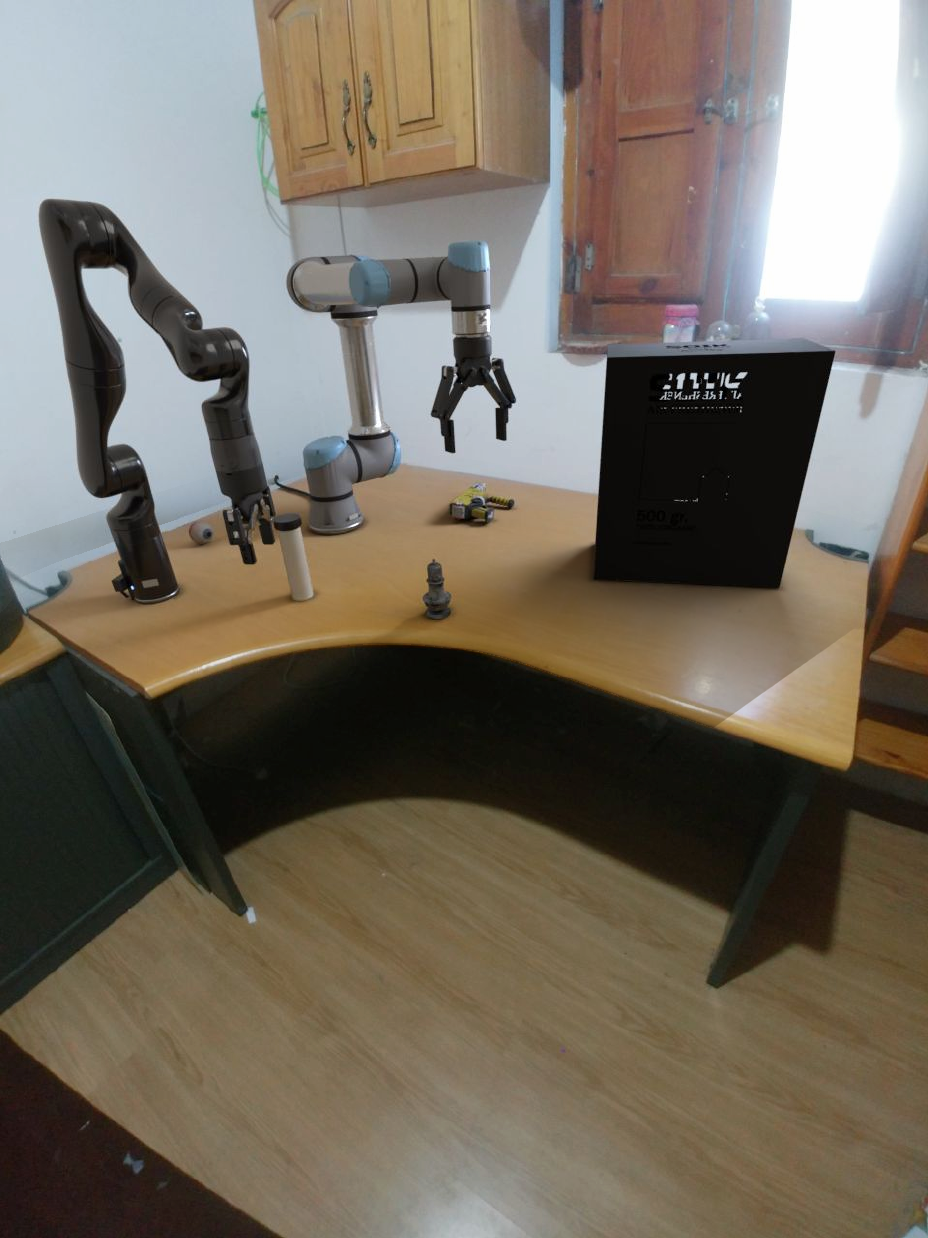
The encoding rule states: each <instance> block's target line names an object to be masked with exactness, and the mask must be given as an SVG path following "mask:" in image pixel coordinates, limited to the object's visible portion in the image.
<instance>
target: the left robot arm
mask: <svg viewBox="0 0 928 1238" xmlns="http://www.w3.org/2000/svg"><path fill="white" fill-rule="evenodd" d="M38 227H39V232H40V233H39V234H40V238H41V243H42V248H43V252H44V256H45V261H46V264H47V268H48V272H49V276H50V281H51V284H52V288H53V292H54V298H55V301H56V306H57V307H56V308H57V312H58V318H59V324H60V330H61V331H60V332H61V337H62V338H61V339H62V346H63V354H64V361H65V367H66V373H67V379H68V380H67V381H68V384H69V390H70V395H71V401H72V408H73V417H74V425H75V426H74V427H75V444H76V445H75V447H76V448H75V449H76V450H75V451H76V463H77V470H78V473H79V474H78V475H79V478H80V480H81V482H82V485H83V486H84V489H86V491H87V492H88V493H89V494H90V495H91V496H93V497H94V498H96V499H107V498H111V497H114V496H118V495H120V497H119V500H118V501H117V502H116V504H115V505H114V506H113V507H112V508H111V509H109V510H108V511H107V513H106V516H105V520H106V523H107V526H108V528H109V531H110V534H111V537H112V539H113V542H114V544H115V547H116V550H117V553H118V556H119V558H120V559H118V561H117V565H118V568H119V570H120V573H119V574H118V575H117V576H115V577H114V578H113V579H111V584H112V586H113V590H114V592H116V593H120V594H121V595H122V596H123V597H124V598H125V599H127V600H128V598H130V600H131V601H135V602H136V603H139V604H144V605H145V604H147V605H149V604H157V603H161V602H163V601H167V600H170V599H172V598H173V597H175V596H176V595H178V593H180V590H181V589H180V585H179V583H178V580H177V577H176V574H175V571H174V568H173V565H172V561H171V558H170V556H169V553H168V549H167V547H166V544H165V540H164V537H163V535H162V531H161V528H160V525H159V523H158V519H157V516H156V512H155V510H156V509H155V508H156V505H155V500H154V497H153V494H152V493H153V492H152V490H151V486H150V481H149V477H148V473H147V471H146V467H145V464H144V462H143V460H142V458H141V456H140V454H139V453H138V452H137V451H136V450H135V448H133V446H131V445H129V444H127V443H117V444H112V445H109V446H108V444H109V443H108V442H109V441H108V440H109V434H110V430H111V428H112V425H113V423H114V420H115V419H116V417H117V414H118V412H119V410H120V409H121V406H122V403H123V402H124V399H125V396H126V394H127V386H128V384H127V371H126V362H125V356H124V351H123V348H122V346H121V344H120V343H119V342H118V340H117V338H116V337H115V335H114V334H113V333H112V331H110V329H109V328H108V326H107V325H106V324H105V323H104V321H103V320H102V318H100V316H99V315H98V313H97V312H96V310H95V309H94V307H93V306H92V304H91V302H90V300H89V297H88V294H87V291H86V288H85V284H84V278H83V270H108V269H114V270H116V271H118V272H120V273H121V274H122V275H124V276H125V277H126V278H127V295H128V298H129V301H130V304H131V306H132V308H133V309H134V311H135V312H136V314H137V315H138V316H139V317H140V319H141V320H142V321H143V322H144V323H145V324H146V325H147V326H148V327H150V328H151V330H153V332H155V333H156V334H157V335H158V336H159V338H161V340H162V342H163V343H164V345H165V347H166V348H167V350H168V352H169V354H170V355H171V357H172V359H173V361H174V364H175V365H176V368H177V369H178V370H179V372H180V373H181V375H183V376H184V377H186V378H188V379H189V380H191V381H194V382H197V383H207V382H212V381H218V380H219V385H218V390H217V391H216V392H215V393H214V394H213V395H211V396H209V397H207V398H206V399H204V400H203V401H202V403H201V404H200V405H201V406H200V408H201V414H202V418H203V421H204V426H205V429H206V433H207V437H208V441H209V442H208V443H209V450H210V455H211V459H212V463H213V467H214V470H215V474H216V478H217V482H218V486H219V489H220V492H221V494H222V496H223V495H224V496H225V497H228V498H229V499H230V501H231V508H229V509H223V510H222V517H223V518H222V519H223V521H224V526H225V530H226V534H227V538H228V539H227V540H228V543H229V545H230V546H238V548H239V551H240V556H241V560H242V563H243V565H256V564H257V562H258V560H257V555H256V551H255V546H254V543H253V532H255V531H256V525H257V524H258V530H259V534H260V539H261V542H262V544H263V545H264V546H265V545H266V546H270V545H271V546H272V545H273V546H274V544H275V543H276V538H275V534H274V529H273V525H272V524H274V523H273V519H274V518H275V517H276V516H277V513H276V508H275V505H274V501H273V496H272V493H271V489H270V485H269V484H268V482H267V477H266V472H265V467H264V463H263V458H262V455H261V449H260V446H259V443H258V440H257V437H256V435H255V430H254V426H253V421H252V416H251V412H250V409H249V408H250V407H249V400H250V399H249V397H250V367H251V366H250V365H251V364H250V363H251V361H250V354H249V350H248V347H247V345H246V343H245V341H244V338H243V337H242V336H241V334H240V333H238V332H237V331H236V330H235V329H234V328H231V327H227V326H220V327H212V328H204V322H203V321H204V320H203V317H202V315H201V313H200V312H199V310H198V309H197V307H195V305H194V304H193V303H192V302H191V301H190V300H189V299H188V298H186V297H185V295H184V294H182V293H181V292H180V291H179V290H178V289H177V288H176V287H175V286H173V285H172V284H171V283H170V282H169V281H168V279H166V278H165V276H164V275H163V274H162V273H161V272H160V271H159V270H158V269H157V267H156V266H155V264H154V263H153V262H152V260H151V259H150V258H149V256H148V255H147V253H146V252H145V250H144V249H143V247H142V246H141V245H140V243H138V241H137V240H136V239H135V237H134V236H133V234H132V233H131V232H130V230H129V229H128V228H127V226H126V225H125V224H124V222H123V220H121V219H120V217H118V215H117V214H116V213H115V212H114V211H113V210H111V208H109V207H108V206H106V205H104V204H102V203H99V202H95V201H87V200H75V199H65V198H46V199H44V200H42V202H41V203H40V204H39V207H38ZM125 591H128V593H126V592H125Z"/></svg>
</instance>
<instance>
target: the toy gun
mask: <svg viewBox="0 0 928 1238" xmlns="http://www.w3.org/2000/svg"><path fill="white" fill-rule="evenodd" d="M486 491H487V484H486V483H485V482H480V481H477V482H475V483H474V484H473V485H472V486H469V487H468V488H467V489H466V490H465V491H463V492H462V493H461V494H459V496H457V497H456V498H455V499H453V500H452V501H451V502H450V503H449V505H448V506H449V507H448V516H450V518H453V519H454V520H456V519H457V520H459V521H460V520H461V519H462V520H469V519H473V518H478V519H482V520H484V523H489V522H490V521H492V520H494V516H495V515H494V514H495V507H492V506H491V507H489V508H488V506H487V505H488V504H490V503H491V504H495V505H498V506H503V507H506V508H509V509H512V508H514V506H515V500H514V499H513V498H507V497H503V496H499V495H495V494H492V495H491V496H490V497H489V495H488V493H487V492H486Z"/></svg>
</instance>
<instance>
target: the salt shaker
mask: <svg viewBox="0 0 928 1238" xmlns="http://www.w3.org/2000/svg"><path fill="white" fill-rule="evenodd" d="M426 570H427V578H426V583H427V585H428V591H427V592H426V593H424V594H423V595H422V601H423V603H424V605H425V607H426V608H427V609H426V610H425V613H424V614H425V616H426V617H427V618H429V619H434V620H440V619H444V618H448V617H449V616H450V615H451V614H452V609H451V608H450V607H449V606H450V603H451V599H452V597H453V596H452V593H451V592H449V591H447V590H445V585H444V582H445V579H446V578H445V577H444V576H443V567H442V564H441V563H440V562H437V560H436V558H432V562H430V563H428V565H427V566H426Z"/></svg>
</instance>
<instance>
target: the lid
mask: <svg viewBox="0 0 928 1238" xmlns="http://www.w3.org/2000/svg"><path fill="white" fill-rule="evenodd" d="M272 519H273V523H272V524H273V526H274V529H275V531H277V530H278V531H290V530H294V529H297V528H299V527H301V526H302V524H303V522H302V518H301V514H300V513H296V512H295V513H294V512H288V513H282V514H279V515H276V516H275V517H273V518H272ZM278 531H277V532H278Z"/></svg>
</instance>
